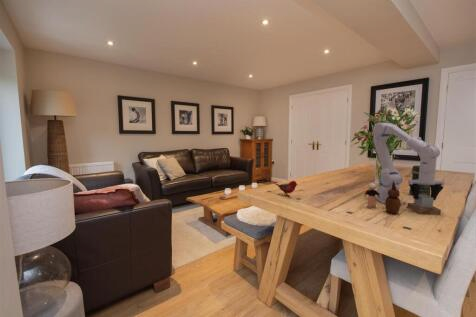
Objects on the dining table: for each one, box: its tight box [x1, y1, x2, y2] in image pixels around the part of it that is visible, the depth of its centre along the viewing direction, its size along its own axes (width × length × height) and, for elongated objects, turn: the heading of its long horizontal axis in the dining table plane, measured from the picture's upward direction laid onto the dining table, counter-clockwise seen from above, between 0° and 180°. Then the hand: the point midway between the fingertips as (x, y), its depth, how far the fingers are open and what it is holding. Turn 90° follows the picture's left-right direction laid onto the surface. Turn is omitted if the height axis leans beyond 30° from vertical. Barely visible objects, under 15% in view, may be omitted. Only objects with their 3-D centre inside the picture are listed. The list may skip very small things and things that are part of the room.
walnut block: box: [406, 202, 442, 216], centre depth 106 cm, size 9×9×3 cm
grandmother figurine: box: [363, 182, 380, 209], centre depth 111 cm, size 8×4×13 cm, turn 92°
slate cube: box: [413, 195, 434, 208], centre depth 106 cm, size 5×5×5 cm
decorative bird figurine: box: [273, 180, 298, 197], centre depth 132 cm, size 3×18×10 cm, turn 42°
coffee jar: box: [408, 165, 431, 197], centre depth 132 cm, size 10×8×19 cm
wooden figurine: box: [384, 181, 401, 214], centre depth 104 cm, size 7×6×15 cm
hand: (424, 199), depth 106 cm, fingers open, 7 cm apart
